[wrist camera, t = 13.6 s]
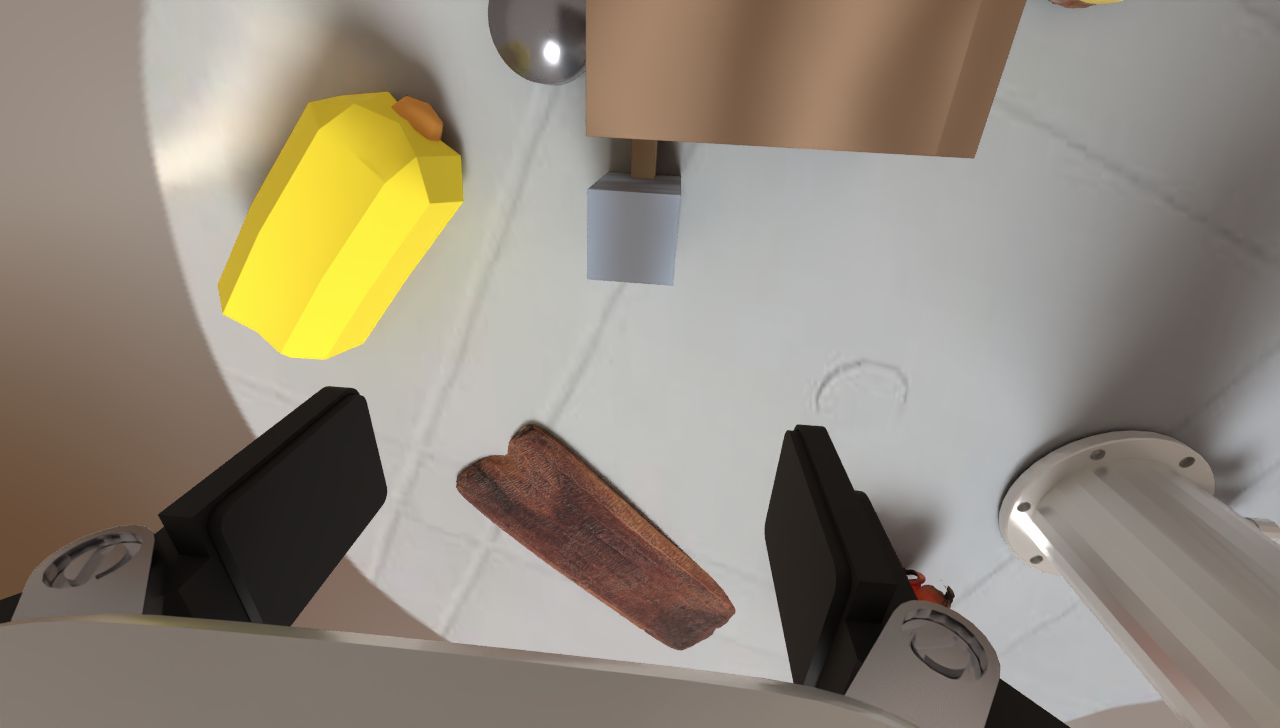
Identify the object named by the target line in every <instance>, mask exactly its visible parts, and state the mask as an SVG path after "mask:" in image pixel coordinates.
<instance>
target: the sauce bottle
mask: <svg viewBox="0 0 1280 728" xmlns="http://www.w3.org/2000/svg"><path fill="white" fill-rule="evenodd" d="M1049 1H1050V2H1052V3H1053V4H1058V5H1061V6H1064V7H1067V8H1086V7H1089V6H1092V5H1095V4H1109V3H1115V2H1119V1H1123V0H1049Z"/></svg>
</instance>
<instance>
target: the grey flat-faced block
mask: <svg viewBox="0 0 1280 728" xmlns="http://www.w3.org/2000/svg"><path fill="white" fill-rule="evenodd" d="M657 144H658V140H645V139H632V158H631V173H619V172H608V173H607V174H606V175H604V176H603V177H602V178H601V179H599V180H598V181H597V182H596V183H595V184H593V185H592V186H591V187H590V188H588V222H587V279H589V280H603V281H617V282H630V283H644V284H657V285H671V286H673V281H674V269H675V258H676V246H677V234H678V223H679V211H680V199H681V176H666V175H656V160H657Z"/></svg>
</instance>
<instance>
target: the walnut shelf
mask: <svg viewBox="0 0 1280 728" xmlns="http://www.w3.org/2000/svg"><path fill="white" fill-rule="evenodd" d="M1025 3H1026V0H586V136H593V137H610V138H628V139H645V140H662V141H680V142H697V143H715V144H732V145H749V146H767V147H784V148H802V149H819V150H836V151H854V152H871V153H888V154H906V155H923V156H941V157H958V158H974V157H975V154H976V151H977V148H978V145H979V142H980V139H981V136H982V133H983V130H984V127H985V124H986V121H987V118H988V115H989V112H990V109H991V106H992V103H993V100H994V97H995V94H996V91H997V88H998V85H999V82H1000V79H1001V76H1002V73H1003V70H1004V67H1005V64H1006V61H1007V58H1008V54H1009V51H1010V48H1011V45H1012V42H1013V39H1014V36H1015V33H1016V30H1017V27H1018V24H1019V21H1020V18H1021V15H1022V12H1023V9H1024V6H1025Z"/></svg>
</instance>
